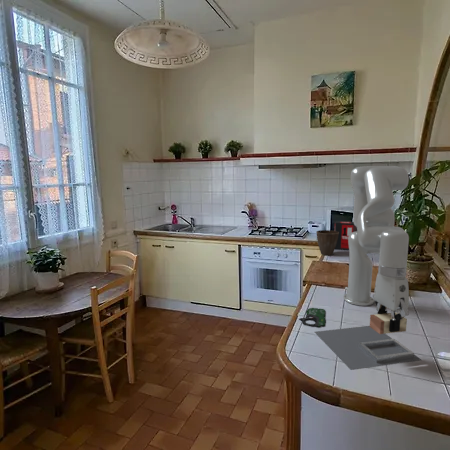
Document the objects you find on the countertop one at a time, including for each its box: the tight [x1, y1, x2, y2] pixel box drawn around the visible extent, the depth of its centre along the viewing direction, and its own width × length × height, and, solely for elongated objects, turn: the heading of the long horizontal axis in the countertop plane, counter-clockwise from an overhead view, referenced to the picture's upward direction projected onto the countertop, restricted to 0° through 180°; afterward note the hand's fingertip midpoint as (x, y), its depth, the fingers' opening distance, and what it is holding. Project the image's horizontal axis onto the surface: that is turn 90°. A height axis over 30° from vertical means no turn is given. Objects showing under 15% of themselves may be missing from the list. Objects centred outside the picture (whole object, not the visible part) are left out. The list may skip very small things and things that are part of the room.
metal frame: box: [359, 338, 415, 363], centre depth 102 cm, size 9×13×2 cm
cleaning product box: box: [334, 220, 357, 251], centre depth 239 cm, size 16×9×20 cm, turn 73°
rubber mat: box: [314, 325, 422, 371], centre depth 107 cm, size 23×24×1 cm
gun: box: [298, 307, 327, 328], centre depth 127 cm, size 16×2×10 cm
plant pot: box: [316, 229, 339, 257], centre depth 224 cm, size 15×15×16 cm
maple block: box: [369, 312, 408, 334], centre depth 100 cm, size 9×5×4 cm, turn 101°
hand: (387, 326), depth 100 cm, fingers closed on maple block, 5 cm apart
